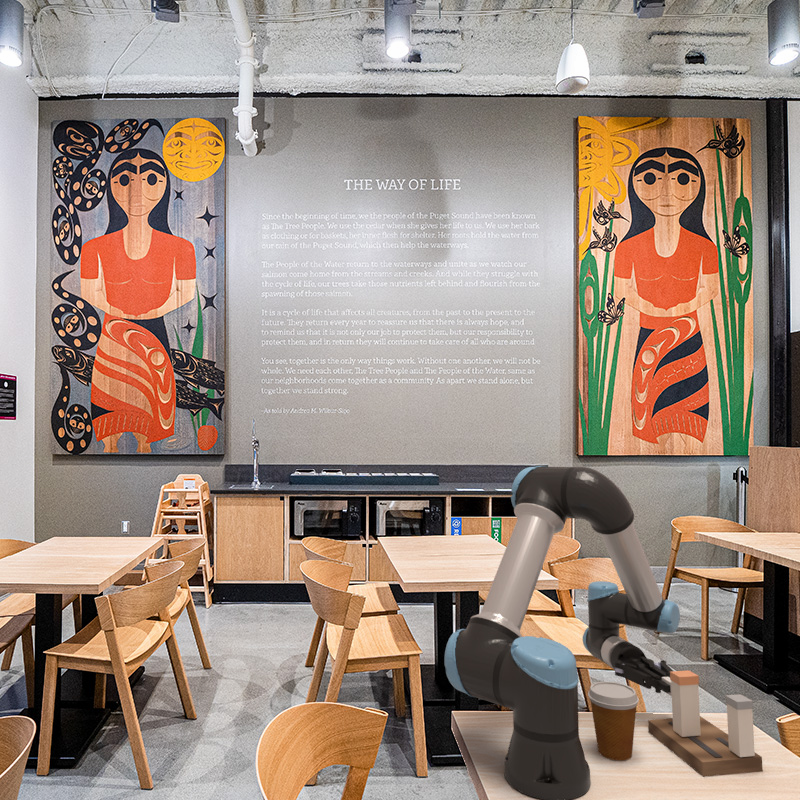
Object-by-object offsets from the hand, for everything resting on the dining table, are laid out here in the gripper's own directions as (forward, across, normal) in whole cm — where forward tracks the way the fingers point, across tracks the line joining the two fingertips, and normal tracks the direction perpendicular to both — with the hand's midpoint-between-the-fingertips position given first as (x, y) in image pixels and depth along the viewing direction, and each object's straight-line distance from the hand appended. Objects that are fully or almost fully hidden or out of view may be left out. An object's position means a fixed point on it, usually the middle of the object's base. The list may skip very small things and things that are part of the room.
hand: (683, 694), depth 125 cm
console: (+3, -1, -9) cm, 10 cm away
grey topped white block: (+11, -4, -7) cm, 14 cm away
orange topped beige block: (+2, +1, -7) cm, 7 cm away
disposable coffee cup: (+2, +16, -10) cm, 19 cm away
